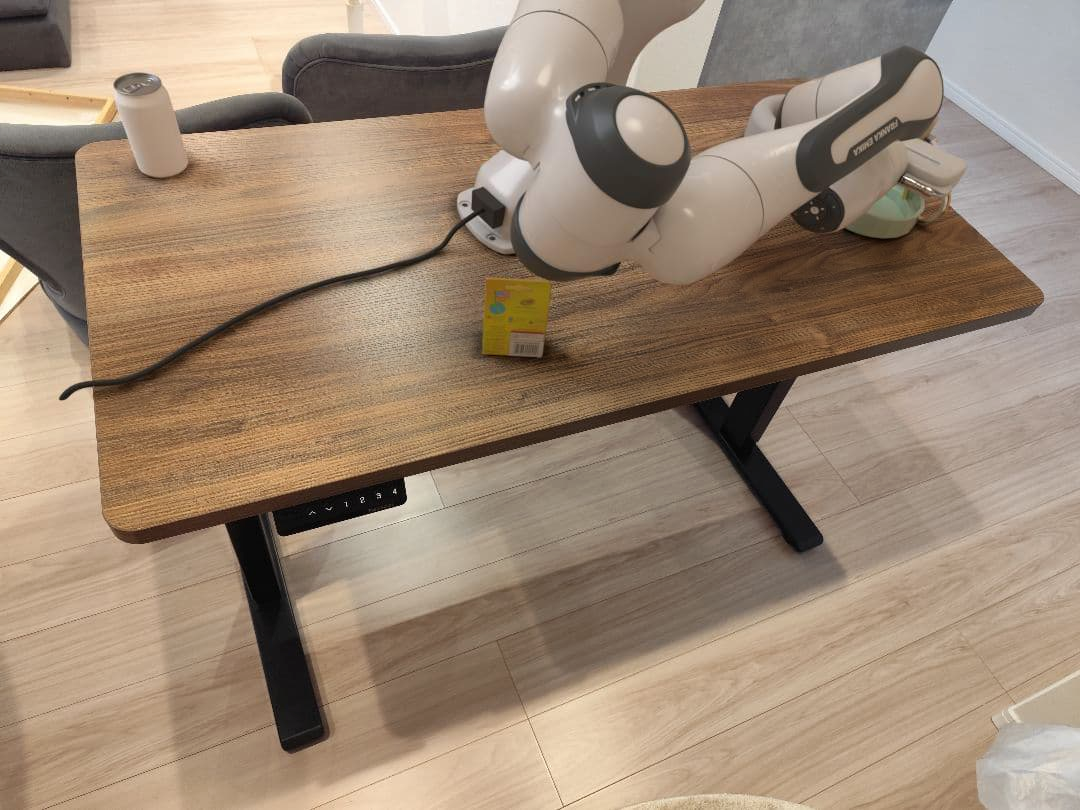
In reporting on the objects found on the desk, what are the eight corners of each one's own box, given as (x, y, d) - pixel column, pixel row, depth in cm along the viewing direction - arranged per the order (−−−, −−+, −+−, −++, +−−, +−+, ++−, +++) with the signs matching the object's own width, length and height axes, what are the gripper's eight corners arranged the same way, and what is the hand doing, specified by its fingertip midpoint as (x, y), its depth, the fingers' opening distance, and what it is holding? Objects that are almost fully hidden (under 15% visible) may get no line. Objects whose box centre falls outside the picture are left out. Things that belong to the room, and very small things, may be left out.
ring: (889, 208, 116) (915, 164, 110) (903, 204, 117) (929, 160, 111) (922, 234, 112) (951, 190, 106) (936, 230, 114) (965, 186, 108)
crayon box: (541, 340, 89) (554, 267, 80) (542, 358, 87) (555, 285, 78) (481, 336, 89) (486, 262, 80) (480, 354, 87) (486, 280, 78)
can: (199, 165, 103) (176, 83, 94) (161, 185, 100) (133, 101, 90) (167, 147, 105) (141, 65, 96) (128, 166, 101) (97, 83, 92)
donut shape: (786, 120, 131) (800, 84, 126) (847, 165, 123) (865, 128, 118) (723, 136, 125) (736, 99, 120) (784, 185, 117) (800, 147, 112)
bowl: (866, 252, 108) (878, 230, 105) (795, 195, 116) (805, 173, 113) (931, 227, 114) (945, 206, 111) (860, 174, 122) (871, 153, 119)
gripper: (955, 179, 91) (992, 142, 99) (812, 109, 99) (856, 79, 106) (929, 221, 96) (965, 182, 104) (794, 151, 103) (837, 120, 111)
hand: (909, 130), depth 105 cm, fingers closed on candle, 5 cm apart
